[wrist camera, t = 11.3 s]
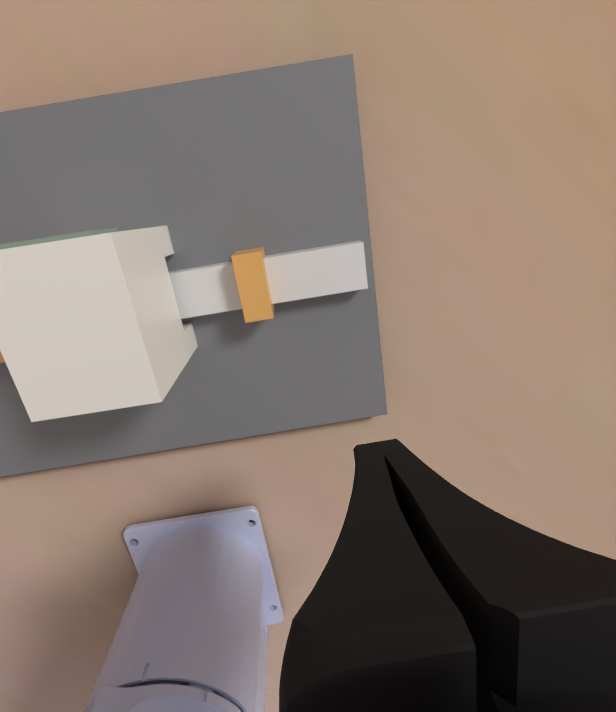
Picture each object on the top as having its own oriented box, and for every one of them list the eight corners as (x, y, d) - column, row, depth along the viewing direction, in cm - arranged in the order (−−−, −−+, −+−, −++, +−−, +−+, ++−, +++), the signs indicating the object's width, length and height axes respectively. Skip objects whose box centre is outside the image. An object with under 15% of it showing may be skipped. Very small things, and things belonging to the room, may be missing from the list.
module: (197, 346, 19) (161, 402, 14) (105, 360, 19) (31, 422, 14) (166, 221, 17) (108, 227, 12) (63, 237, 17) (-44, 250, 12)
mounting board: (382, 405, 22) (396, 433, 19) (-12, 469, 22) (-55, 507, 19) (348, 62, 17) (362, 32, 14) (-176, 149, 17) (-270, 137, 14)
